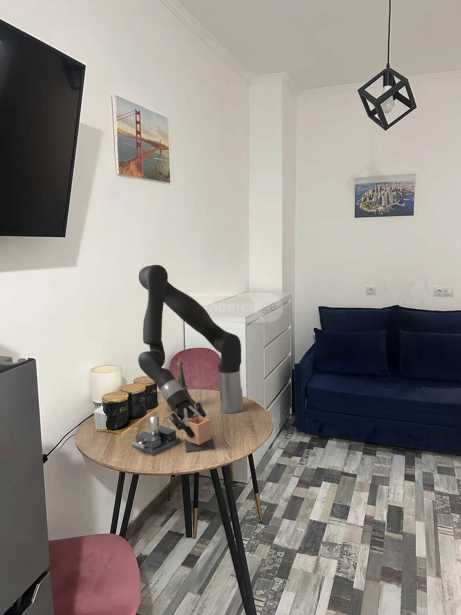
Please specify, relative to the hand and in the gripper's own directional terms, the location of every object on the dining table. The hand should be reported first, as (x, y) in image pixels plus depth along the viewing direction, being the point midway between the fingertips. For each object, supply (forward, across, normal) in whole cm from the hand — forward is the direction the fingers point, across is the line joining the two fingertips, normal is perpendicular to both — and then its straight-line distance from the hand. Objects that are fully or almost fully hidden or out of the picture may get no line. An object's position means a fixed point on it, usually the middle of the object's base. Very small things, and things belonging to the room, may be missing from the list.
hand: (199, 433), depth 160 cm
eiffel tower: (-19, +22, +26) cm, 39 cm away
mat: (+3, 0, +4) cm, 5 cm away
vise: (-6, -9, +13) cm, 17 cm away
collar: (+1, 0, +2) cm, 3 cm away
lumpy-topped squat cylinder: (-28, -6, +35) cm, 45 cm away
